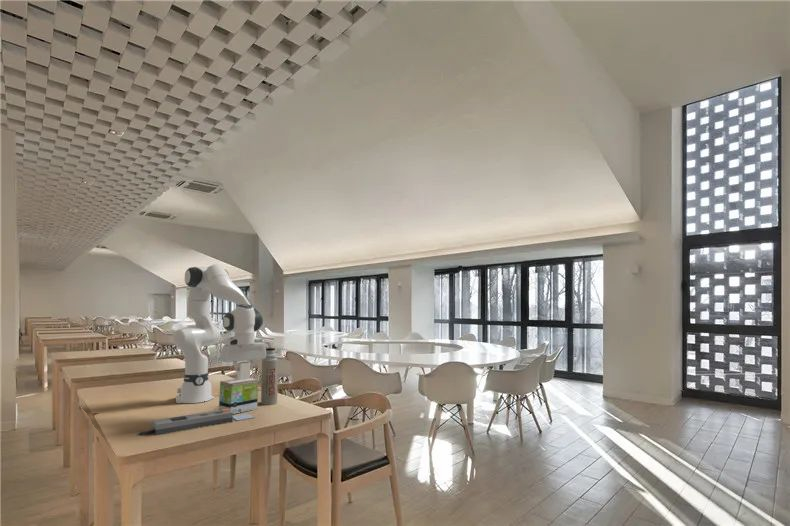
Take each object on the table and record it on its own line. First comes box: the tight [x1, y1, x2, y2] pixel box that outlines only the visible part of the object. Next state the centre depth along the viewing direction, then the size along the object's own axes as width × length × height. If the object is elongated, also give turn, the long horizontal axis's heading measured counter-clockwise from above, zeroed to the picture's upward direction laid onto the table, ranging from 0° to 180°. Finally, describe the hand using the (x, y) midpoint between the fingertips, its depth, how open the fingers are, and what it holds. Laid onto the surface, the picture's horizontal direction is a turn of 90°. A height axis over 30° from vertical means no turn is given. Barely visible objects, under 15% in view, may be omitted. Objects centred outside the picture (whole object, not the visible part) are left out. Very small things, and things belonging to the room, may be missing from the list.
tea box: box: [218, 377, 259, 415], centre depth 218 cm, size 15×10×15 cm
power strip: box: [138, 409, 234, 436], centre depth 190 cm, size 8×36×5 cm, turn 129°
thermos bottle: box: [260, 347, 279, 406], centre depth 234 cm, size 8×8×28 cm
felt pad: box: [233, 413, 256, 422], centre depth 205 cm, size 8×8×1 cm
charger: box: [236, 361, 251, 380], centre depth 206 cm, size 4×4×7 cm
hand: (243, 370), depth 206 cm, fingers closed on charger, 4 cm apart
